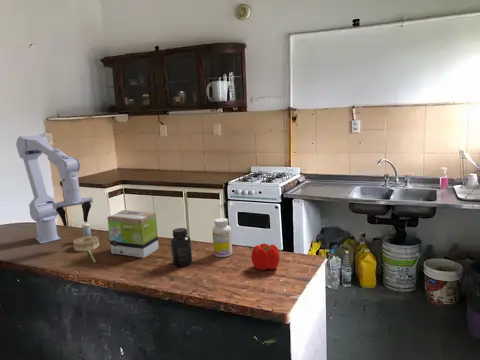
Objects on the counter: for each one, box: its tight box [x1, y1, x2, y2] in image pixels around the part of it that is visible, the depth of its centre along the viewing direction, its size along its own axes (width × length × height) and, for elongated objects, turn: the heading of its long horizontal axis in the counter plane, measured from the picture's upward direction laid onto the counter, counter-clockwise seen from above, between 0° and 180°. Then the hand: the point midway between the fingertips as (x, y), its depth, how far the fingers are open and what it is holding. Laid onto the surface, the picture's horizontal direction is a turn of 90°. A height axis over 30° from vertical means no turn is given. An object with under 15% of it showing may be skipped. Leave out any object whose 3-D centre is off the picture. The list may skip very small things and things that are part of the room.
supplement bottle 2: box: [212, 217, 233, 258], centre depth 145 cm, size 7×7×13 cm
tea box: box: [106, 209, 160, 259], centre depth 152 cm, size 15×10×15 cm
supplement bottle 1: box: [170, 227, 193, 268], centre depth 138 cm, size 7×7×12 cm
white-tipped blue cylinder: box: [81, 222, 92, 237], centre depth 168 cm, size 3×3×7 cm
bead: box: [72, 235, 100, 252], centre depth 161 cm, size 9×9×3 cm
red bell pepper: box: [251, 243, 281, 271], centre depth 132 cm, size 9×9×8 cm
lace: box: [87, 250, 97, 263], centre depth 150 cm, size 14×1×1 cm, turn 28°
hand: (75, 223), depth 159 cm, fingers open, 7 cm apart
